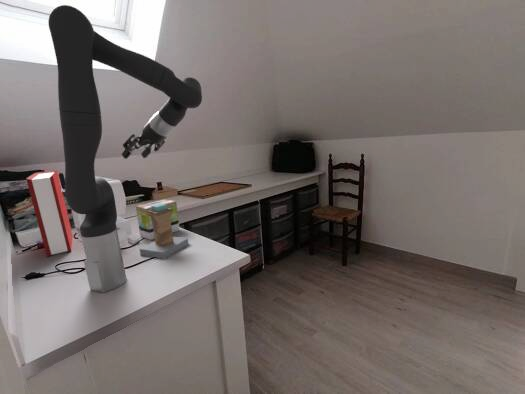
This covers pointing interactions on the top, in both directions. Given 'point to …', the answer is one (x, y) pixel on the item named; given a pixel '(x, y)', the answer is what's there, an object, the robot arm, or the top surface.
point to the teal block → (159, 207)
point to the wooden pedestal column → (162, 227)
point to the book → (50, 211)
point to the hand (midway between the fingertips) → (133, 156)
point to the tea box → (146, 221)
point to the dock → (164, 248)
